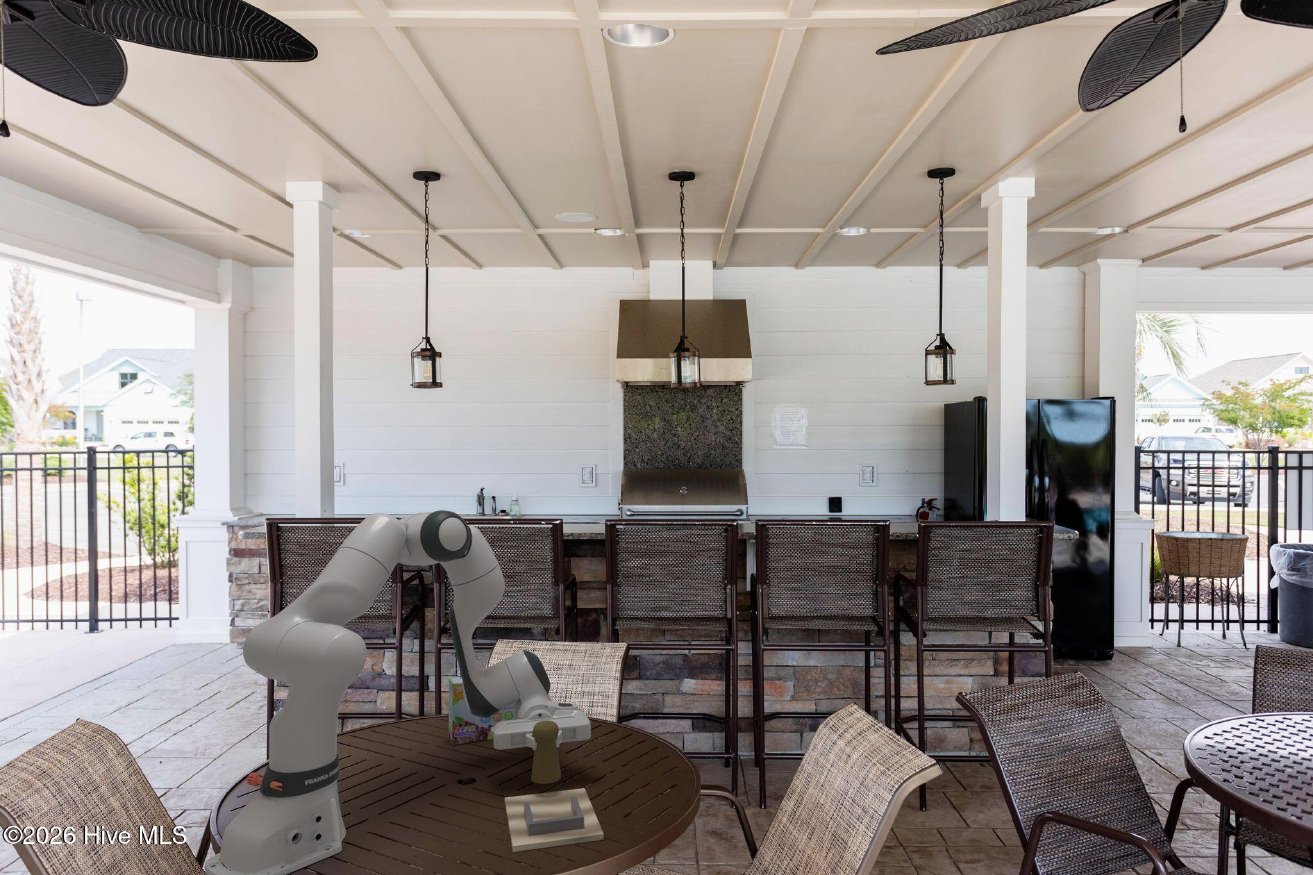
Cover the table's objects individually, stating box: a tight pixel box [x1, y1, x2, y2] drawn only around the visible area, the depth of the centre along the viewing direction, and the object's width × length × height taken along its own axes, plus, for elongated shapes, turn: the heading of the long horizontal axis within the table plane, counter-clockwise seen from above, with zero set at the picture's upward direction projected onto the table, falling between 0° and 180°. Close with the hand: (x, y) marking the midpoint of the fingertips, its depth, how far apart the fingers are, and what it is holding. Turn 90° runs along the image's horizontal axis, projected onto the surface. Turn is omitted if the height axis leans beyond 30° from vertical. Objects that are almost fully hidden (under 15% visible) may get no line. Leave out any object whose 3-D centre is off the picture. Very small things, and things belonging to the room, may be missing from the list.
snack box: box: [448, 676, 516, 746], centre depth 190 cm, size 21×6×15 cm, turn 115°
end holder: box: [524, 797, 584, 836], centre depth 142 cm, size 9×10×2 cm
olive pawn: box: [530, 721, 562, 785], centre depth 155 cm, size 6×6×11 cm
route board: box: [504, 787, 604, 853], centre depth 145 cm, size 20×16×1 cm
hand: (546, 745), depth 154 cm, fingers closed on olive pawn, 2 cm apart
